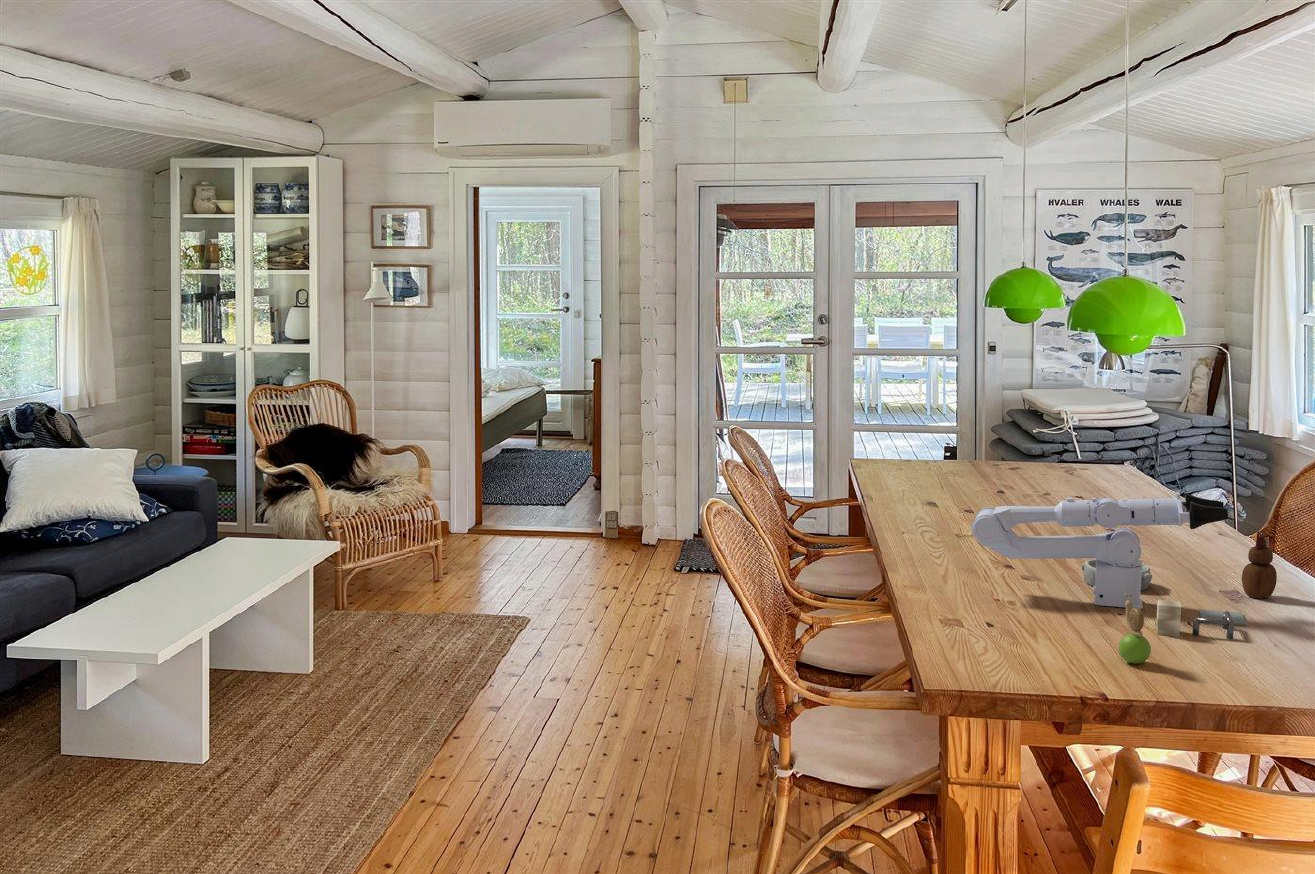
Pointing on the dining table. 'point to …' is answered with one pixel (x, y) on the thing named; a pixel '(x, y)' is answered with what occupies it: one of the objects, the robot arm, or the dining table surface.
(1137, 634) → the green beige tall piece
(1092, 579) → the dish
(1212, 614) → the mat
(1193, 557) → the dining table surface
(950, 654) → the dining table surface
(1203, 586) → the dining table surface
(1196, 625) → the bent rod
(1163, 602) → the ash block
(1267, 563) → the wooden figurine
